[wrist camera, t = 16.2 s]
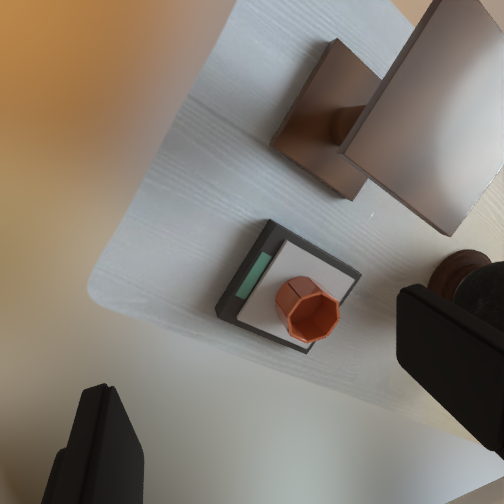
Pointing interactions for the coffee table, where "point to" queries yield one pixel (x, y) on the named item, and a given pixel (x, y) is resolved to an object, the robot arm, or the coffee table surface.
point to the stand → (409, 117)
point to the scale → (280, 282)
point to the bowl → (306, 309)
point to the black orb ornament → (472, 285)
